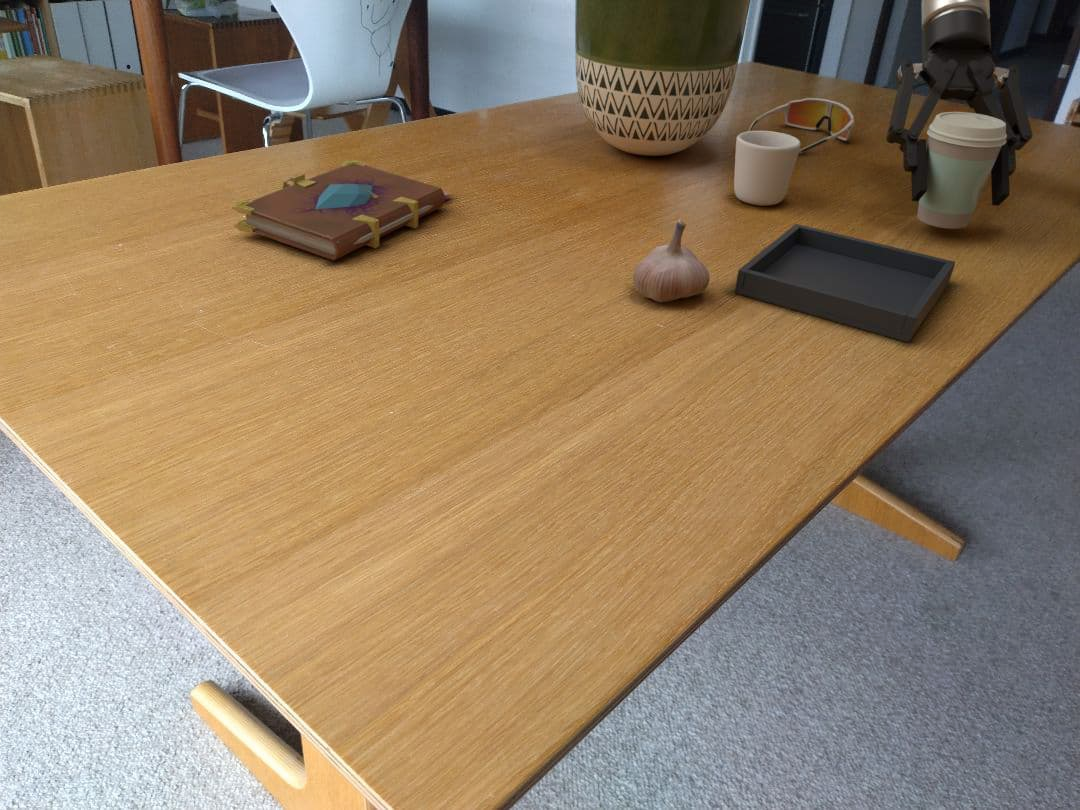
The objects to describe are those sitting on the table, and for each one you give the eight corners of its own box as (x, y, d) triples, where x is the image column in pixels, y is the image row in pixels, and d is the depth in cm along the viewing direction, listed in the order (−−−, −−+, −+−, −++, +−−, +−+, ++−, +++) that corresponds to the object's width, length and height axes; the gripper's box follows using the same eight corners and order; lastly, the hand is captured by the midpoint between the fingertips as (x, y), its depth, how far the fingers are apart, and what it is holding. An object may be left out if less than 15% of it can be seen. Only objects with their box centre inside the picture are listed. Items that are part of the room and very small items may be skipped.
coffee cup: (975, 238, 102) (1008, 133, 95) (899, 223, 105) (925, 122, 99) (983, 216, 108) (1014, 117, 102) (911, 203, 111) (936, 106, 105)
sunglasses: (865, 140, 140) (870, 109, 137) (807, 170, 133) (811, 138, 130) (792, 120, 149) (795, 91, 146) (734, 147, 142) (736, 117, 139)
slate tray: (948, 284, 94) (955, 261, 93) (908, 342, 82) (915, 317, 81) (791, 244, 102) (795, 223, 101) (734, 293, 90) (738, 269, 89)
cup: (745, 180, 122) (755, 122, 117) (802, 191, 118) (814, 132, 114) (718, 202, 114) (728, 140, 109) (778, 215, 110) (790, 151, 106)
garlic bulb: (713, 289, 91) (725, 215, 87) (694, 317, 85) (705, 239, 81) (644, 274, 93) (652, 202, 89) (621, 301, 88) (628, 225, 83)
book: (467, 207, 111) (468, 169, 108) (338, 274, 93) (335, 229, 90) (365, 176, 117) (364, 139, 114) (225, 233, 99) (219, 190, 96)
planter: (680, 124, 146) (701, -59, 131) (760, 168, 127) (796, -40, 112) (542, 133, 138) (549, -60, 124) (606, 181, 119) (623, -40, 105)
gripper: (1029, 50, 110) (1038, 217, 105) (856, 42, 111) (856, 207, 106) (1062, 10, 102) (1072, 188, 97) (876, 2, 104) (877, 177, 99)
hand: (960, 197), depth 102 cm, fingers closed on coffee cup, 8 cm apart
